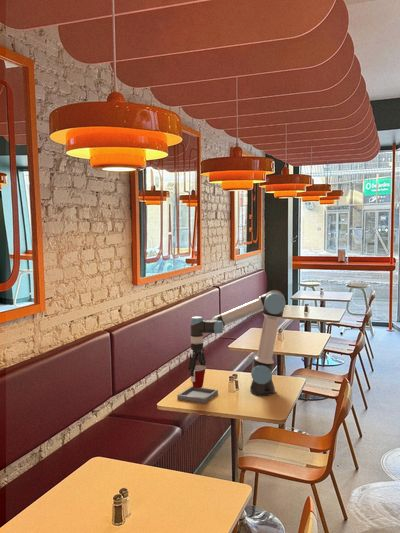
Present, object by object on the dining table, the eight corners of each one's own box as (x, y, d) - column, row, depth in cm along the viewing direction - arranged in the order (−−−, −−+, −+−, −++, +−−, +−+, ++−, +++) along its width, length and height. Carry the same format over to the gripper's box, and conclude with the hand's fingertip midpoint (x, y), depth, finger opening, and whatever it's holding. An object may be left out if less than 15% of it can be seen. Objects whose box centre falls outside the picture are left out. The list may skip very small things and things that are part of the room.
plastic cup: (190, 383, 303) (190, 364, 302) (208, 384, 301) (207, 365, 300) (186, 389, 293) (186, 369, 292) (204, 390, 290) (204, 370, 289)
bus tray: (217, 394, 301) (217, 389, 301) (204, 404, 285) (204, 399, 285) (191, 390, 309) (191, 385, 309) (177, 399, 293) (177, 394, 293)
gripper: (200, 337, 306) (200, 372, 308) (181, 346, 286) (182, 383, 288) (211, 339, 303) (211, 374, 305) (193, 347, 282) (193, 385, 284)
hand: (197, 378), depth 296 cm, fingers closed on plastic cup, 11 cm apart
